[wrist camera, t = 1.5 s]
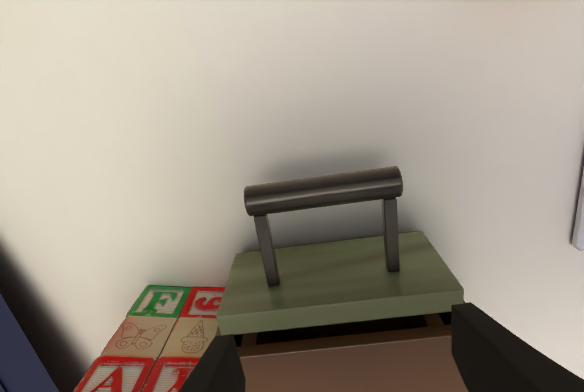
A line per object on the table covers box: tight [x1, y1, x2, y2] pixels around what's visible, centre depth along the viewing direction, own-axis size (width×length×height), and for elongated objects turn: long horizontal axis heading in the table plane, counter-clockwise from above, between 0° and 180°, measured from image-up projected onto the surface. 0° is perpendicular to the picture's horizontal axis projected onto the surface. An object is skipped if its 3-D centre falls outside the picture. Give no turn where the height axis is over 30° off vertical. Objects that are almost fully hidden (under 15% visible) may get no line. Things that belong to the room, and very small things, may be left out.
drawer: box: [216, 166, 464, 346], centre depth 20 cm, size 19×11×6 cm, turn 9°
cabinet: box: [215, 300, 469, 392], centre depth 22 cm, size 14×12×7 cm
